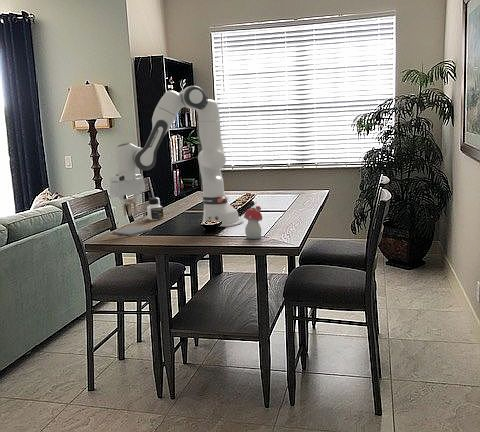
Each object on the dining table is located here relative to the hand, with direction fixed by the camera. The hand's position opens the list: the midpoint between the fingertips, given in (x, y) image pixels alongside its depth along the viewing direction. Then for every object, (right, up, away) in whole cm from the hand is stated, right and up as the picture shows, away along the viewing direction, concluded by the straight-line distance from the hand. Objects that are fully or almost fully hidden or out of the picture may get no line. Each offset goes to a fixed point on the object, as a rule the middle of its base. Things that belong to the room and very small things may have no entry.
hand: (129, 203), depth 279 cm
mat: (+1, -15, +3) cm, 15 cm away
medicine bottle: (+8, -8, +35) cm, 37 cm away
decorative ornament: (+62, -17, -26) cm, 70 cm away
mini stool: (0, -6, +1) cm, 6 cm away
